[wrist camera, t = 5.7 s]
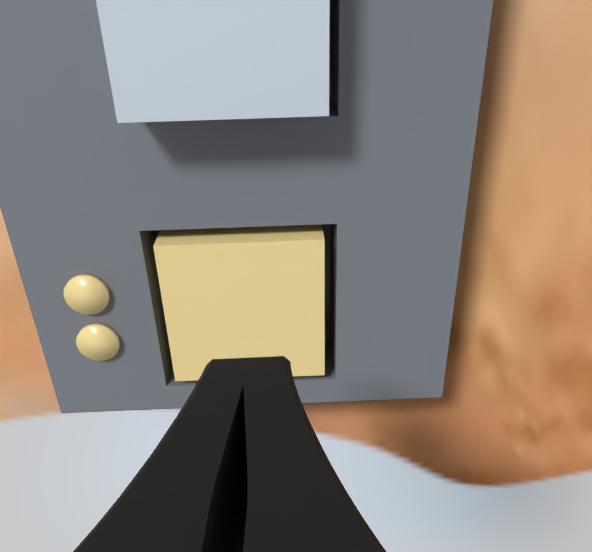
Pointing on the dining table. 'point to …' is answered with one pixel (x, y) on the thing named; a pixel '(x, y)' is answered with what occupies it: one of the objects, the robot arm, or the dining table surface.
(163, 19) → the key grey
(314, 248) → the key ochre
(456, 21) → the grey flat block
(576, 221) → the dining table surface
